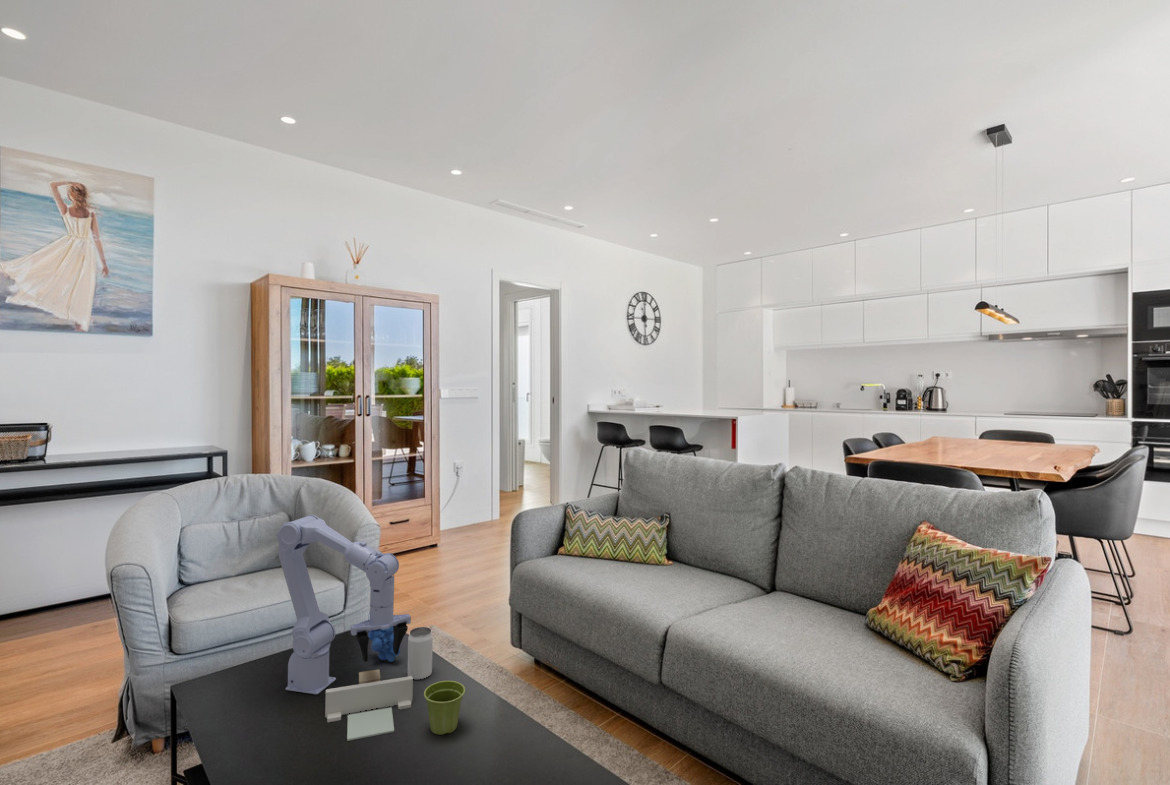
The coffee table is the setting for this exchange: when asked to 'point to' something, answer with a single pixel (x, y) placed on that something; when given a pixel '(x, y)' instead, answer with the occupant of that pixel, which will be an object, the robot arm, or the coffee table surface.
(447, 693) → the plant pot
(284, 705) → the coffee table surface
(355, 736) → the sage mat
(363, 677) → the maple cube
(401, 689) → the grey screen
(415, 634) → the can
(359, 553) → the robot arm
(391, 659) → the grapes
